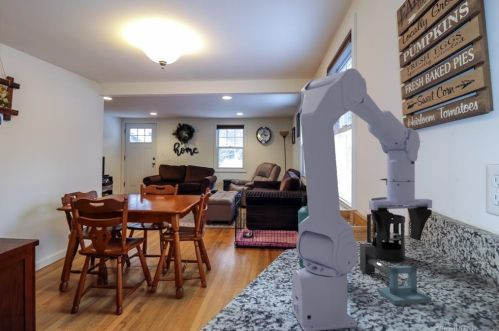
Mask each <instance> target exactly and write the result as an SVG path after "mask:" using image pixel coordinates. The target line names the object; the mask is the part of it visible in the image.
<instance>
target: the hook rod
mask: <svg viewBox="0 0 499 331" xmlns="http://www.w3.org/2000/svg"><path fill="white" fill-rule="evenodd" d="M390 267H391V266H389V265H387V264H386V263H383V261H381V260H378V259H375V246H373V245H372V244H371V243H360V244H359V270H360V271H361V272H362V273H364V274H374V273H376V270H377V271H379V272H381V273H382V274H384V275H385V276H387V277H388V278H390ZM399 277H400V274H398V278H399Z"/></svg>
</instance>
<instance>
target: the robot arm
mask: <svg viewBox="0 0 499 331" xmlns="http://www.w3.org/2000/svg"><path fill="white" fill-rule="evenodd" d="M367 90H368V88H367V82H366V79H365V78H364V77H363V76H362V74H361V73H360V71H359V70H357V69H355V68H353V67H350V68H347V69H345V70H343V71H340V72H336V73H334V74H330V75H327V76H323V77H320V78H315V79H311V80H309V81H308V82H306V84H305V85H304V86H303V87H302V89H301V90H300V98H301V114H300V126H301V139H302V141H301V142H302V151H303V163H304V174H305V185H306V187H305V188H306V194H307V199H308V203H307V206H308V211H309V216H308V217H307V218H305V219H304V220H303V221H302V222H301V223H300V224H299V225H298V224H297V226H298V227H297V228H298V234H299V235H298V234H297V240H296V247H295V248H296V253H297V255H299V257H300V258H301V259H303V265H304V266H305V268H301V269H296V270H294V271H293V273H292V277H291V278H292V280H291V281H292V282H291V283H292V284H291V288H292V289H291V292H292V293H291V294H292V295H291V296H292V297H291V298H292V299H291V300H292V302H291V304H292V306H290V307H291V309H290V310H291V312H292V313H293V315H294V316H295V318H296V320H297V322H298V324H299V326H300V327H301V328H302V331H327V330H336V329H337V330H340V329H350V328H357V327H358V322H356V321H355V320H354V318H353V317H352V316H351V315H350V314H349V312H348V273H351V272H352V270H353V269H354V267H355V266H356V264H357V262H358V259H359V247H358V244H357V241H356V240H355V235H354V228H353V226H352V225H351V224H350V223H349V222H348V221H347V220H346V219H345V218H344V217H343V216H342V214H341V209H340V208H341V207H340V206H341V205H340V196H339V195H340V194H339V181H338V169H337V168H338V167H337V156H336V145H335V144H336V142H335V131H334V130H335V129H334V128H335V125H336V123H337V122H338V121H339V120H340V119H341V117H342V116H344V115H345V114H347V113H349V112H352V113H353V114H355V115H356V116H357V117H358V118H360V119H361V120H362V121H364V122H365V123H367V129H368V132H369V133H370V134H371V135H372V136H374V138H375V139H377V140H378V142H379V144H380V146H381V149H382V152H383V153H384V154H386V178H387V185H386V197H387V199H382V200H368V210H369V209H370V214H372V215H373V216H374V218H375V220H376V222H377V225H378V228H379V231H380V235H381V239H382V240H383V242H391V241H390V232H391V220H392V219H393V218H392V216H393V214H394V213H393V212H390V210H397V209H399V210H400V209H401V210H402V209H404V210H405V209H407V212H408V215H409V223H410V235H411V239H412V240H416V241H421V238H422V235H423V231H424V228H425V226H426V224H427V222H428V220H429V218H430V217H431V216H432V213H433V211H432V209H433V200H432V199H429V198H416V188H415V187H416V183H415V182H416V180H415V179H416V172H415V171H416V170H415V168H416V167H415V166H416V165H415V164H416V163H415V162H416V161H417V160H418V153H419V150H420V145H421V138H420V135H419V132H418V131H417V130H416V129H413V128H411V127H407V126H405V125H404V123H403V122H401V121H400V120H399V118H397V117H396V116H395V115H394V114H393V112H392V111H390V110H381V109H380V107H379V106H378V105H377V103H376V102H375V100H374V99H372V97H371V96H370V95H369V93H368V92H367ZM395 205H403V206H395ZM387 209H389V211H388V210H387Z"/></svg>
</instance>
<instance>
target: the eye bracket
mask: <svg viewBox="0 0 499 331" xmlns="http://www.w3.org/2000/svg"><path fill="white" fill-rule="evenodd" d="M389 267H390V277H389V286H387V287H377V288H376V290H377V291H376V292H377V293H378V294H379V295H381V296H382V297H383V298H385V299H386V300H387V301H389V302H390V303H391V304H392V305H394V306H398V305H409V304H421V303H431V302H432V297H431V296H430V295H428V294H426V293H424V292H422V291H421V290H419V289H418V288H417V287H418V284H417V283H418V275H417V274H418V269H417V266H416V265H414V264H412V265H411V264H410V265H397V266H396V265H395V266H389ZM398 274H399V275H401V274H403V275H404V274H407V281H408V283H407V285H399V277H398Z"/></svg>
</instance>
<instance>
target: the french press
mask: <svg viewBox="0 0 499 331" xmlns="http://www.w3.org/2000/svg"><path fill="white" fill-rule="evenodd" d="M379 179H380V180H379V181H385V185H386V186H387V177H386V178H379ZM382 199H387V196H383V197H373V198H371V200H382ZM395 206H404V205H395ZM387 210H388V211H389V212H390V209H387ZM405 223H406V216H404V215H402V214H401V215H400V214H395V213H393V216H392V220H391V224H392V232H391V231H390V241H389V242H385V241H383V240H382V239H381V235H380V231H379V228H378V225H377V222H376V220H375V218H374V216H373V215H372V213H368V214H366V242H367V244H371V245H373V246H375V259H377V260H379V261H380V262H388V263H402V262H405V261H406V260H407V256H406V245H405V239H406V238H405V233H406V232H405V225H406V224H405Z"/></svg>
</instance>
